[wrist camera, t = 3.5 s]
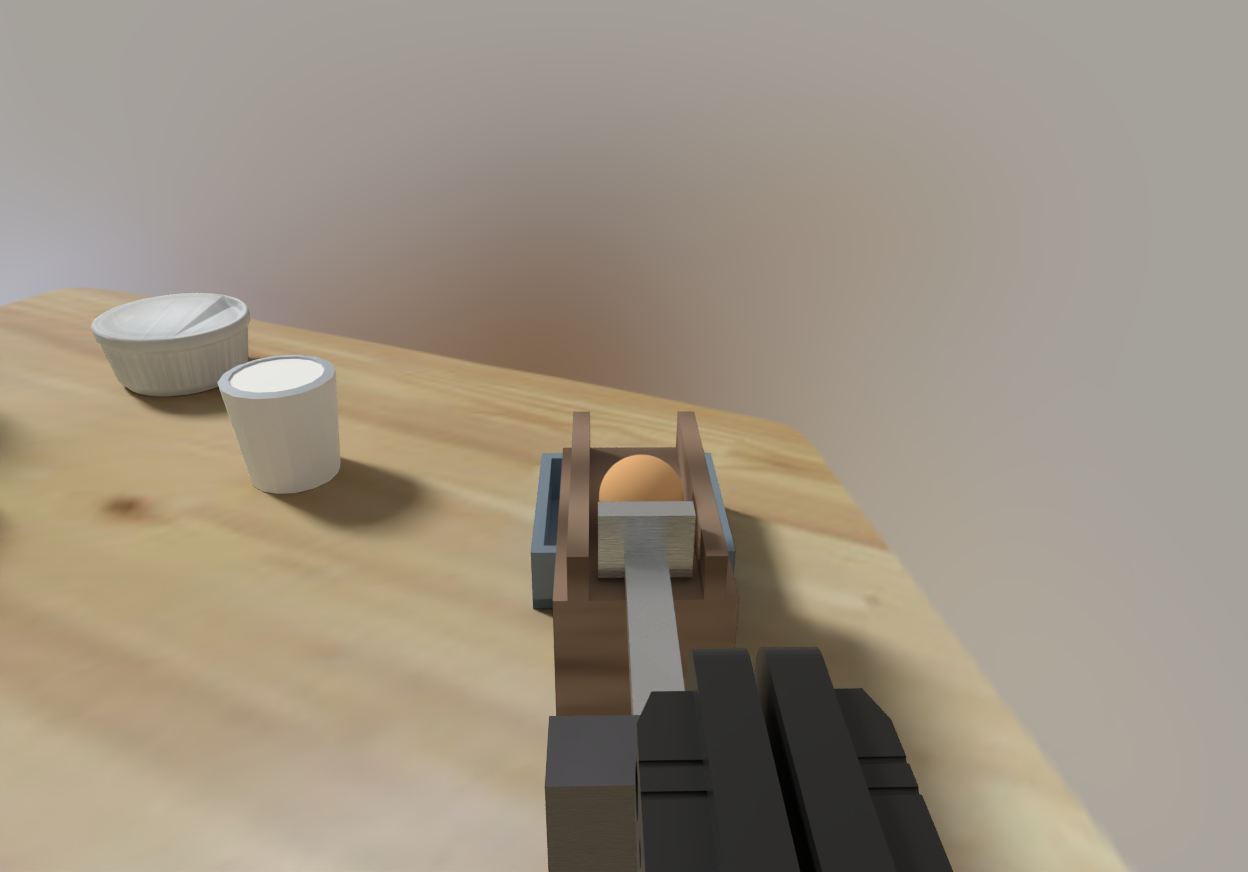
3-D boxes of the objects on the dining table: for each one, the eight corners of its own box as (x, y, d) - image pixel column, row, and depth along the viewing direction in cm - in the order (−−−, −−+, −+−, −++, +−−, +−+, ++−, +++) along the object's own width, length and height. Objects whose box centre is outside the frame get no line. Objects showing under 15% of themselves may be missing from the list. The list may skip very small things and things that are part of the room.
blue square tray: (730, 606, 44) (735, 551, 42) (533, 608, 43) (530, 552, 42) (707, 501, 53) (710, 452, 51) (543, 502, 53) (541, 453, 51)
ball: (659, 566, 34) (662, 490, 32) (583, 541, 35) (582, 468, 33) (695, 523, 36) (699, 452, 35) (623, 502, 38) (624, 432, 36)
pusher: (776, 1037, 23) (821, 782, 18) (555, 1043, 23) (544, 786, 18) (711, 663, 36) (728, 457, 31) (569, 665, 36) (565, 457, 31)
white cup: (364, 448, 58) (350, 354, 55) (328, 501, 52) (310, 399, 49) (266, 445, 59) (247, 351, 55) (220, 497, 53) (195, 395, 49)
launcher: (724, 750, 35) (743, 555, 31) (557, 753, 35) (551, 557, 31) (694, 576, 46) (705, 411, 41) (565, 577, 46) (562, 411, 41)
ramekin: (273, 385, 68) (260, 322, 65) (115, 416, 62) (95, 350, 60) (245, 341, 76) (233, 284, 74) (104, 365, 71) (86, 305, 68)
